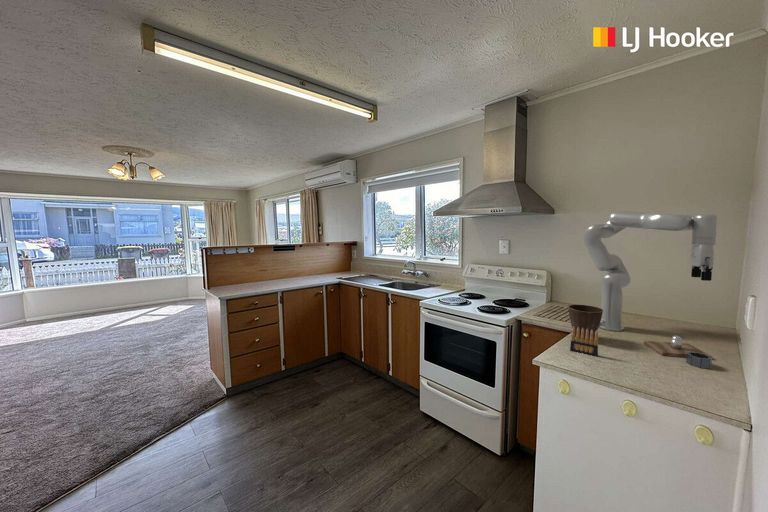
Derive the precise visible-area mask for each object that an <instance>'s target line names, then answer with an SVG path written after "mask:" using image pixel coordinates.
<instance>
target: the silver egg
mask: <svg viewBox="0 0 768 512" xmlns="http://www.w3.org/2000/svg"><path fill="white" fill-rule="evenodd" d="M670 343H671V348H673V349H678V350H680V349H681V347H682V343H683V339H682V337H680V336H679V335H672V336H671V339H670Z"/></svg>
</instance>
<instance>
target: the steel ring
mask: <svg viewBox="0 0 768 512" xmlns="http://www.w3.org/2000/svg"><path fill="white" fill-rule="evenodd" d="M685 359H686V360H685V363H686V364H688V365H690V366H692V367H695V368H698V369H706V370H709V369H711V368H712V365H713V356H712V357H710V356H708V355H706V354H702V353H698V352H688V353H687V356H686V357H685Z"/></svg>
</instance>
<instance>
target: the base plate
mask: <svg viewBox="0 0 768 512" xmlns="http://www.w3.org/2000/svg"><path fill="white" fill-rule="evenodd" d="M643 344H644V345H645V346H646V347H648V348H650V349H652V350H653V351H654V352H656V353H657V354H659V355H660V356H662V357H673V358H674V357H675V358H686V356H687V353H688V352H698V353H702V354H706V355H708V356H710V357H712V358H713V356H712V355H711V354H708V353H707V352H705V351H703V350H702V349H700V348H697V347H695V346H694V345H691V344H690V343H685V342H682V347H681V349H680V350H678V349H673V348H671V341H670V342H669V341H668V342H667V341H654V340H653V341H652V340H651V341H650V340H644V341H643Z"/></svg>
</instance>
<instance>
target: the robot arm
mask: <svg viewBox="0 0 768 512" xmlns="http://www.w3.org/2000/svg"><path fill="white" fill-rule="evenodd" d="M717 225H718V216H717V215H716V214H713V213H711V214H709V213H707V214H706V213H704V214H696V215H694V214H693V215H691V214H668V213H667V214H665V213H664V214H662V213H652V212H648V211H628V210H617V211H613V212H612V213H610V215H609V217H608V221H606V222H604V223H594V224H592V225H590V226H588V227H587V228H586V229H585V231H584V233H583V236H582V237H583V242H584V243H583V244H584V245H585V247H586V248H587V249H586V250H588V253H589V255H590V257H591V259H592V261H593V263H594V266H595V267H596V269H597V270H599V271H601V272H607V273H606V274H604V275H603V276H602V278H601V280H600V287H601V297H600V299H601V302H600V303H601V304H600V308H601V309H602V310H603V313H602V318H601V321H600V324H599V327H598V328H600V329H603V330H606V331H612V332H620V331H621V332H623V331H624V330H625V327H624V326H623V325H622V313H623V290H622V289H623V288H625V287H627V286H629V284H630V283H631V276H630V274H629V272H628V270H627V268H626V265H625V264H624V262H623V260H622V259H621V258H620V257H619V256H618V255H616V254H615V253H610V252H609V250H608V249H607V246H606V244H604V242H603V241H602V239H608V238H611V237H613V236H614V235H616V234H619V232H621V231H623V230H624V229H626V228H634V229H641V230H642V229H645V230H658V231H659V230H660V231H670V232H671V231H672V232H681V231H685V232H686V231H692V233H691V243H690V244H691V245H692V247H691V251H690V255H689V256H690V257H689V265H690V266H691V276H690V277H691V278H700V280H701V281H709V282H710V281H712V277H713V275H712V274H713V269H714V268H713V267H714V257H715V255H714V246H716V239H717V228H718V227H717Z"/></svg>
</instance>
